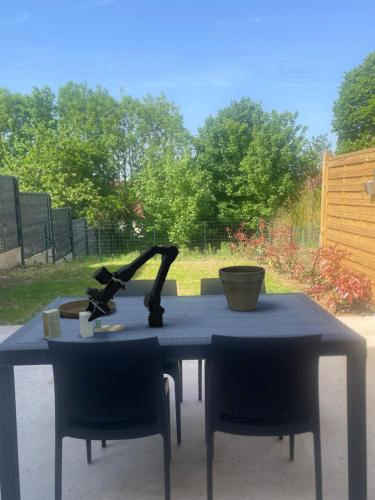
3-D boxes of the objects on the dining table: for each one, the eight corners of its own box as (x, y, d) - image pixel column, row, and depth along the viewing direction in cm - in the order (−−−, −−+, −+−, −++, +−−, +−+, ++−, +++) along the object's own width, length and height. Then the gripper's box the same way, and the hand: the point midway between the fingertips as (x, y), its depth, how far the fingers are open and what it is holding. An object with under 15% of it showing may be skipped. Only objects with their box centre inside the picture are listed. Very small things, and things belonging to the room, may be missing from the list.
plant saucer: (120, 316, 223) (120, 308, 222) (58, 323, 213) (58, 314, 213) (112, 304, 252) (112, 296, 252) (57, 309, 243) (57, 301, 242)
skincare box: (56, 335, 193) (54, 308, 192) (61, 336, 190) (60, 309, 189) (43, 338, 188) (41, 311, 187) (49, 340, 185) (47, 312, 184)
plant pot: (244, 316, 215) (243, 273, 212) (209, 308, 233) (208, 269, 231) (275, 307, 231) (274, 268, 229) (240, 301, 249) (240, 264, 247)
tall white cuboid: (90, 334, 193) (89, 311, 192) (93, 337, 188) (92, 313, 187) (80, 335, 191) (79, 312, 190) (83, 339, 186) (81, 315, 185)
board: (125, 325, 204) (125, 324, 204) (122, 332, 194) (122, 330, 194) (95, 326, 204) (95, 325, 204) (91, 333, 194) (91, 331, 194)
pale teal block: (101, 326, 202) (101, 318, 202) (101, 327, 200) (100, 319, 200) (96, 326, 202) (95, 318, 202) (95, 328, 200) (95, 319, 199)
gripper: (91, 277, 197) (68, 303, 194) (101, 283, 181) (76, 312, 177) (108, 292, 202) (86, 318, 198) (120, 299, 185) (96, 328, 181)
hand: (86, 319), depth 188 cm, fingers open, 9 cm apart
